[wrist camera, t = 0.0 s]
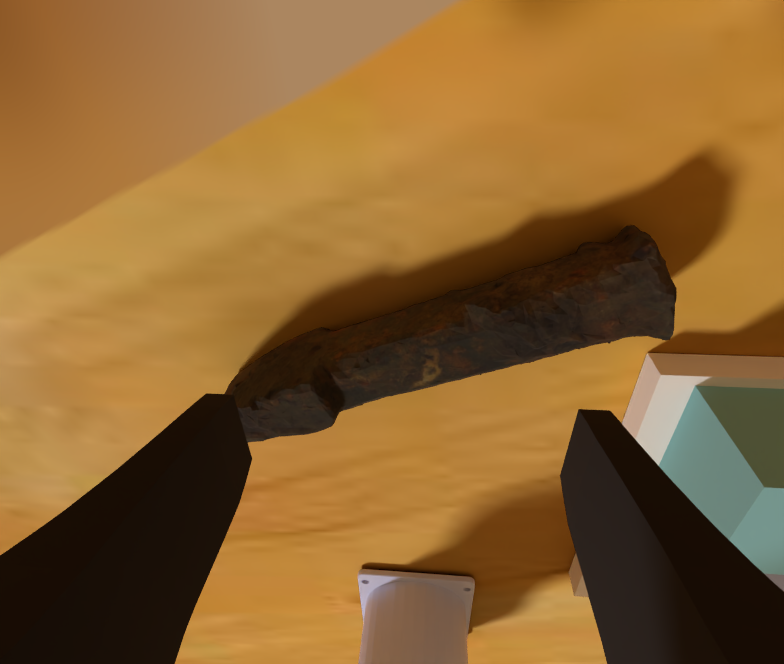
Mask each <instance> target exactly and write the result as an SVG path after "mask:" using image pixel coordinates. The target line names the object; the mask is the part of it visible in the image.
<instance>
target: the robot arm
mask: <svg viewBox="0 0 784 664" xmlns="http://www.w3.org/2000/svg"><path fill="white" fill-rule="evenodd" d="M251 461H252V457H251V453H250V450H249V447H248V443H247V440H246V436H245V433H244V429H243V426H242V422H241V419H240V416H239V412H238V409H237V405H236V402H235V398H234V395H228V394H205V395H204V396H203V397H202V398H200V399H199V400H198V401H197V402H195V403H194V404H193V405H192V406H191V407H190V408H188V409H187V410H186V411H185V412H184V413H183V414H181V415H180V416H179V417H178V418H177V419H176V420H175V421H173V422H172V423H171V424H170V425H169V426H168V427H166V428H165V429H164V430H163V431H162V432H161V433H160V434H158V435H157V436H156V437H155V438H154V439H152V440H151V441H150V442H149V443H148V444H147V445H145V446H144V447H143V448H142V449H141V450H139V451H138V452H137V453H136V454H135V455H134V456H132V457H131V458H130V459H129V460H128V461H126V462H125V463H124V464H123V465H122V466H120V467H119V468H118V469H117V470H116V471H114V472H113V473H112V474H110V475H109V476H108V477H107V478H105V479H104V480H103V481H101V482H100V483H99V484H98V485H96V486H95V487H94V488H93V489H91V490H90V491H89V492H87V493H86V494H85V495H84V496H82V497H81V498H80V499H79V500H77V501H76V502H75V503H73V504H72V505H71V506H70V507H68V508H67V509H66V510H64V511H63V512H62V513H60V514H59V515H58V516H56V517H55V518H53V519H52V520H51V521H49V522H48V523H46V524H45V525H44V526H42V527H41V528H40V529H38V530H37V531H35V532H34V533H32V534H31V535H29V536H28V537H27V538H25V539H24V540H22V541H21V542H19V543H18V544H16V545H15V546H13V547H12V548H10V549H9V550H8V551H6V552H5V553H3V554H2V555H0V664H175V661H176V658H177V655H178V652H179V648H180V645H181V642H182V639H183V636H184V633H185V631H186V628H187V625H188V623H189V620H190V618H191V615H192V613H193V610H194V608H195V605H196V603H197V601H198V598H199V596H200V594H201V591H202V589H203V587H204V584H205V582H206V580H207V577H208V575H209V573H210V571H211V568H212V566H213V564H214V561H215V559H216V557H217V554H218V552H219V550H220V548H221V545H222V543H223V541H224V538H225V536H226V534H227V531H228V529H229V526H230V524H231V522H232V519H233V517H234V515H235V512H236V510H237V507H238V505H239V502H240V499H241V496H242V493H243V489H244V486H245V483H246V479H247V475H248V472H249V468H250V465H251ZM560 478H561V484H562V491H563V497H564V504H565V509H566V515H567V521H568V526H569V529H570V533H571V537H572V540H573V544H574V547H575V551H576V554H577V558H578V561H579V565H580V568H581V572H582V575H583V579H584V582H585V585H586V589H587V592H588V596H589V599H590V603H591V606H592V610H593V613H594V616H595V620H596V623H597V627H598V630H599V634H600V637H601V641H602V645H603V649H604V653H605V657H606V661H607V664H784V591H783V590H782V589H780V588H779V587H778V586H777V585H776V584H775V583H774V582H773V581H771V580H770V579H769V578H768V577H767V576H766V575H765V574H764V573H763V572H762V571H761V570H760V569H759V568H757V567H756V566H755V565H754V564H753V563H752V562H751V561H750V560H749V559H748V558H747V557H746V556H745V555H744V554H743V553H742V552H741V551H740V550H739V549H738V548H737V547H736V546H735V545H734V544H733V543H732V542H731V541H730V540H728V539H727V538H726V537H725V536H724V535H723V534H722V533H721V532H720V531H719V530H718V529H717V528H716V527H715V526H714V525H713V524H712V523H711V522H710V520H709V519H708V518H707V517H706V516H705V515H704V514H703V513H702V512H701V511H700V510H699V509H698V508H697V507H696V506H695V505H694V504H693V503H692V502H691V500H690V499H689V498H688V497H687V496H686V495H685V494H684V493H683V492H682V491H681V490H680V489H679V488H678V487H677V486H676V484H675V483H674V482H673V481H672V480H671V479H670V478H669V477H668V476H667V475H666V473H665V472H664V471H663V470H662V469H661V468H660V467H659V466H658V465H657V463H656V462H655V461H654V460H653V459H652V458H651V457H650V456H649V454H648V453H647V452H646V451H645V450H644V449H643V448H642V446H641V445H640V444H639V443H638V442H637V441H636V440H635V438H634V437H633V436H632V435H631V434H630V433H629V431H628V430H627V429H626V428H625V427H624V426H623V425H622V423H621V422H620V421H619V420H618V419H617V418H616V417H615V416H614V415H613V413H612V412H611V411H607V410H583V409H579V410H578V413H577V417H576V421H575V424H574V428H573V431H572V435H571V439H570V442H569V446H568V449H567V453H566V456H565V460H564V464H563V467H562V471H561V474H560ZM358 583H359V591H360V599H361V607H362V615H363V623H364V624H363V632H362V639H361V647H360V655H359V663H358V664H468V654H467V636H468V629H469V623H470V616H471V609H472V602H473V596H474V589H475V580H474V579H473V578H471V577H468V576H454V575H440V574H427V573H413V572H399V571H385V570H371V569H361V570H360V571H359V572H358Z"/></svg>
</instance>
